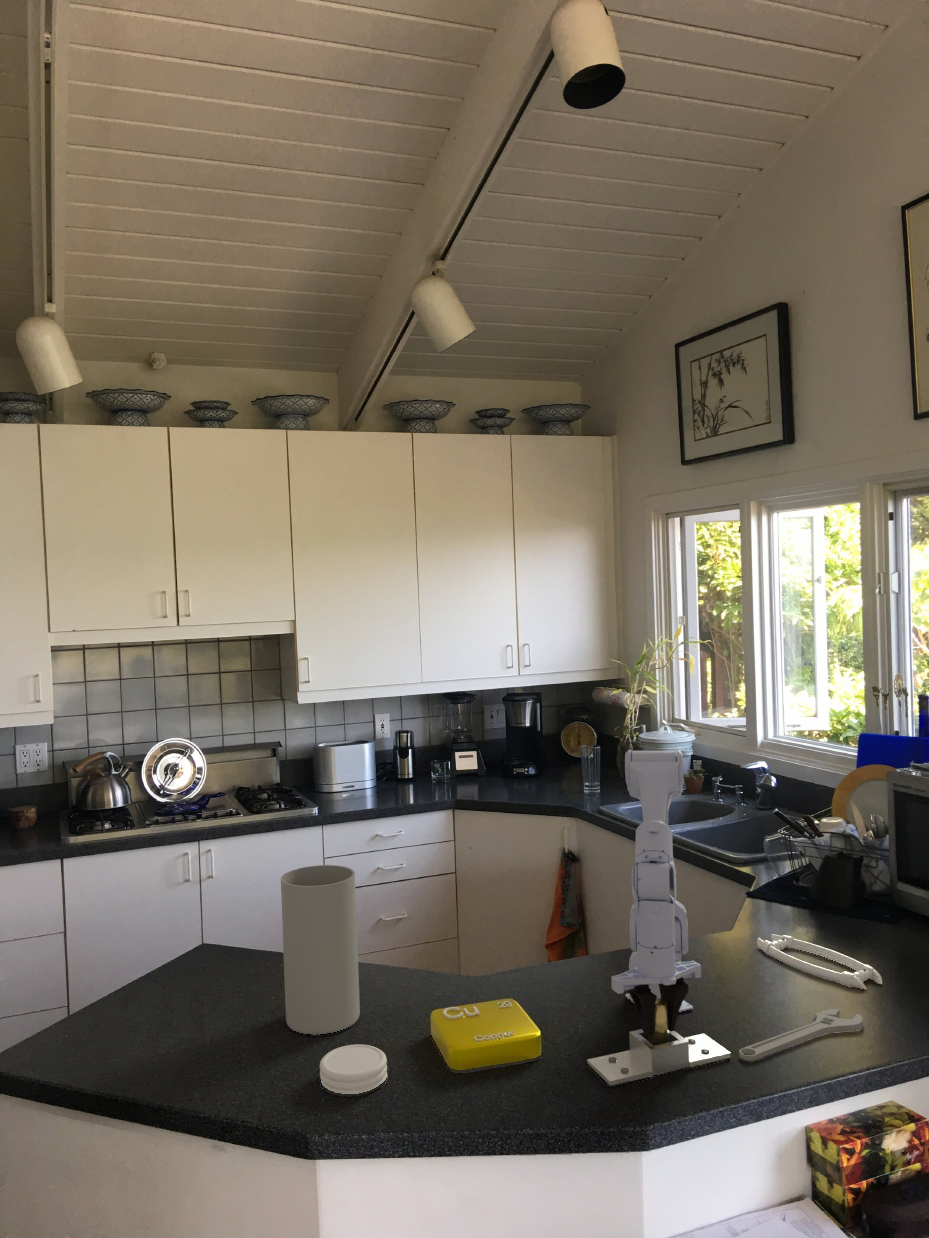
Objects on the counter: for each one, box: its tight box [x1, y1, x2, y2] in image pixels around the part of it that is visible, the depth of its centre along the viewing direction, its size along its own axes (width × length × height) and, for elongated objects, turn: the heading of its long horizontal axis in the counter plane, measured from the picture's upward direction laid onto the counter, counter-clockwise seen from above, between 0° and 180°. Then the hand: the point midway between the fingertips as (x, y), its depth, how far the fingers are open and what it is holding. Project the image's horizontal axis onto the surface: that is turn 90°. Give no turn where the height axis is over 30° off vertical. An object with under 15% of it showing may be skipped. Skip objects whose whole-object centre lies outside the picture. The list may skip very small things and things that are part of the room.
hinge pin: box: [648, 998, 669, 1045], centre depth 143 cm, size 3×3×6 cm
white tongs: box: [756, 933, 883, 990], centre depth 179 cm, size 3×10×25 cm
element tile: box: [430, 998, 542, 1070], centre depth 151 cm, size 15×15×5 cm
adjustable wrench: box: [738, 1008, 864, 1060], centre depth 150 cm, size 25×6×2 cm, turn 115°
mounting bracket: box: [586, 1028, 732, 1085], centre depth 143 cm, size 7×21×4 cm, turn 110°
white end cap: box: [319, 1044, 388, 1094], centre depth 141 cm, size 10×10×4 cm
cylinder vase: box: [280, 864, 361, 1036], centre depth 162 cm, size 12×12×25 cm
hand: (658, 1030), depth 143 cm, fingers open, 3 cm apart
